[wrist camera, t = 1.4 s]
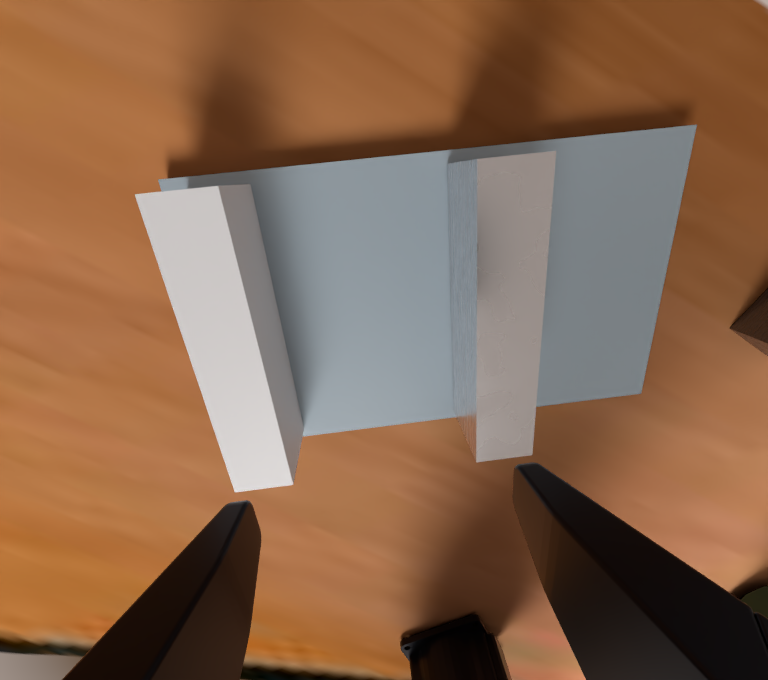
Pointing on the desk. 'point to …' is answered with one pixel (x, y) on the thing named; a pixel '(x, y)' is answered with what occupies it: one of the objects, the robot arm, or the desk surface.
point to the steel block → (755, 324)
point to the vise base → (398, 286)
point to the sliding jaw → (498, 296)
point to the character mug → (758, 600)
